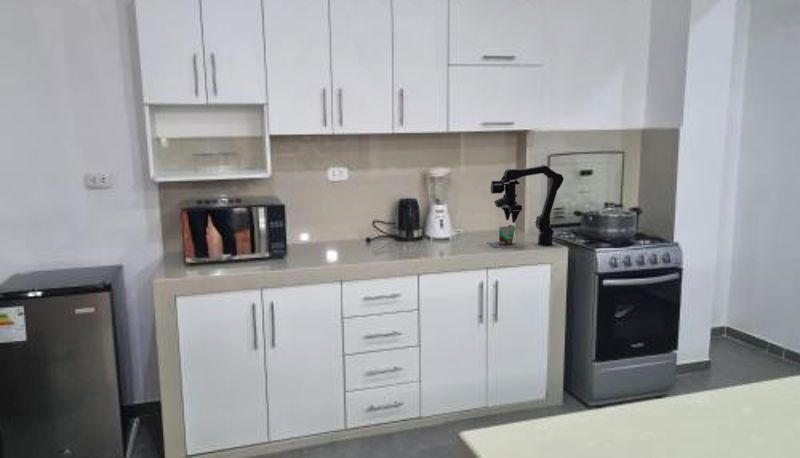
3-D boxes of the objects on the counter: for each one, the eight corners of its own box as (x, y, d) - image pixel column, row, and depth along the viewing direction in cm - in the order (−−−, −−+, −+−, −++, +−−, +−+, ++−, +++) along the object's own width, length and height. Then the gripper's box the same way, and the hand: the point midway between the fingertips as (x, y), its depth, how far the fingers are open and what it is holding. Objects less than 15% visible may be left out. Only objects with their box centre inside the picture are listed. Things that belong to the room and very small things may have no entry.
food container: (508, 246, 316) (509, 228, 314) (497, 244, 319) (499, 226, 318) (518, 243, 326) (519, 226, 324) (508, 242, 329) (509, 224, 328)
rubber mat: (498, 242, 328) (498, 242, 328) (505, 247, 316) (505, 246, 316) (487, 243, 327) (487, 242, 327) (494, 247, 315) (494, 246, 315)
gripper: (490, 191, 323) (490, 219, 326) (502, 195, 305) (502, 225, 308) (509, 190, 325) (509, 218, 328) (522, 194, 307) (522, 223, 310)
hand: (510, 221), depth 318 cm, fingers open, 9 cm apart
